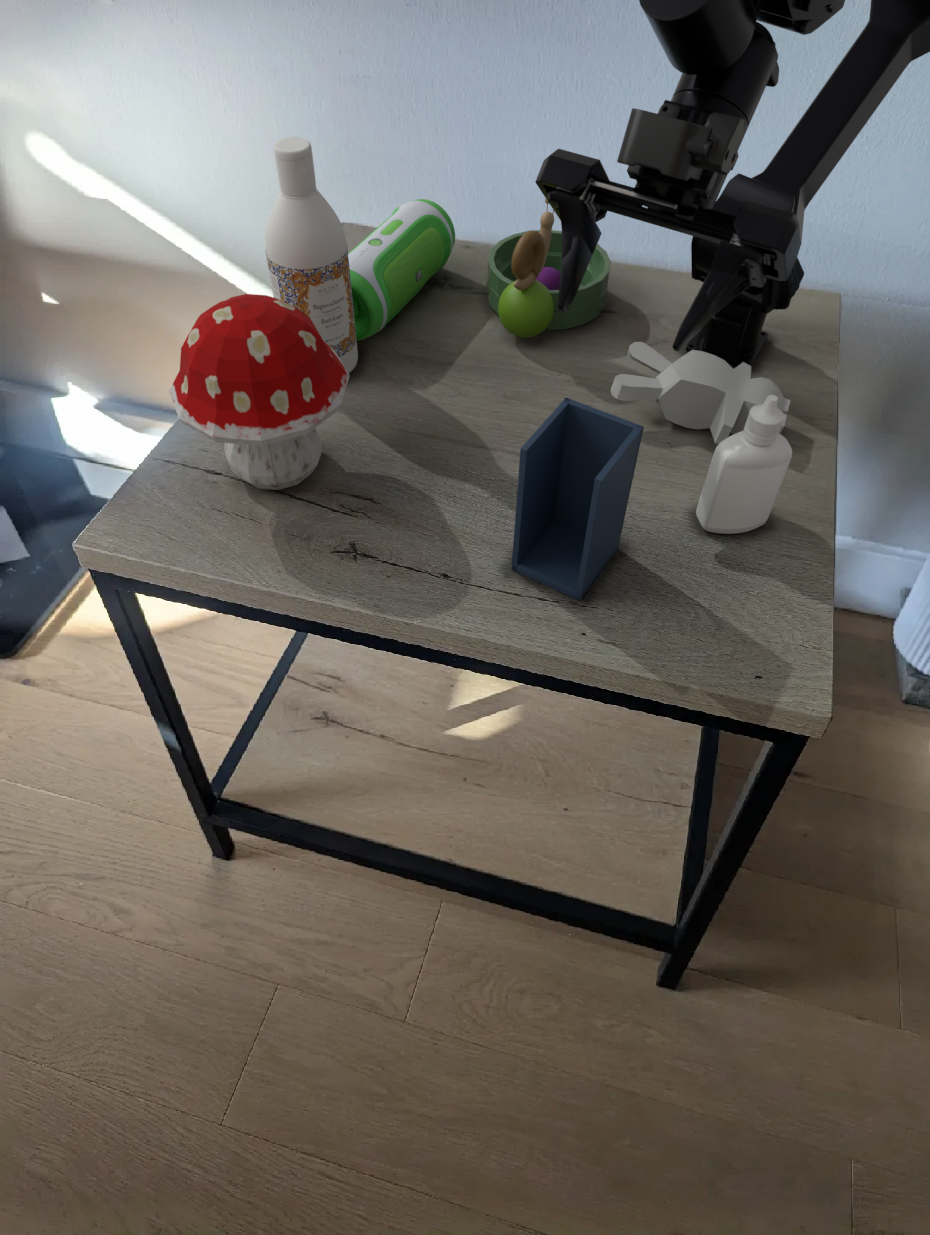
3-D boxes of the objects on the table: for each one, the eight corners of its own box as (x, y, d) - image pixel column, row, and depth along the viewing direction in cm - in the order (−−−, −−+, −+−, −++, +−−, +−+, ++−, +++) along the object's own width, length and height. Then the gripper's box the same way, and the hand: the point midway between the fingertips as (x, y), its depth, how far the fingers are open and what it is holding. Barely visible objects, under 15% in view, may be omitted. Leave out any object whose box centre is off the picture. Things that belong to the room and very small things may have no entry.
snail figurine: (565, 323, 87) (579, 205, 78) (534, 355, 84) (544, 235, 75) (519, 307, 89) (526, 189, 80) (486, 337, 86) (490, 218, 76)
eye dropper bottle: (762, 546, 68) (810, 425, 59) (691, 529, 69) (728, 407, 60) (768, 510, 71) (816, 388, 62) (700, 494, 72) (736, 372, 63)
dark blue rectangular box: (551, 519, 70) (565, 396, 61) (618, 548, 68) (644, 426, 59) (511, 569, 67) (520, 448, 57) (580, 601, 65) (601, 481, 55)
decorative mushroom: (247, 399, 80) (211, 242, 68) (385, 435, 76) (373, 277, 65) (161, 496, 71) (104, 337, 60) (312, 542, 68) (283, 382, 57)
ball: (542, 253, 86) (516, 280, 88) (558, 276, 85) (532, 303, 87) (561, 269, 89) (536, 295, 91) (577, 291, 88) (551, 317, 89)
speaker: (380, 356, 84) (374, 284, 78) (315, 336, 86) (305, 265, 80) (459, 270, 94) (459, 201, 88) (400, 255, 96) (397, 186, 90)
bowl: (519, 259, 96) (521, 219, 92) (622, 288, 92) (628, 248, 88) (466, 313, 89) (466, 272, 85) (575, 347, 85) (580, 305, 82)
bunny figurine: (787, 431, 71) (614, 372, 73) (762, 476, 75) (599, 419, 77) (802, 367, 77) (641, 314, 78) (779, 412, 81) (626, 361, 83)
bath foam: (306, 394, 80) (270, 172, 65) (273, 357, 84) (232, 138, 68) (371, 370, 83) (352, 150, 67) (337, 334, 86) (311, 118, 71)
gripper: (560, 17, 56) (468, 253, 59) (845, 79, 50) (728, 339, 53) (599, 107, 66) (519, 305, 69) (839, 168, 60) (741, 381, 63)
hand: (617, 330), depth 63 cm, fingers open, 9 cm apart
